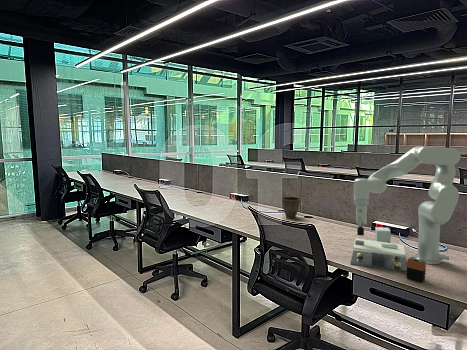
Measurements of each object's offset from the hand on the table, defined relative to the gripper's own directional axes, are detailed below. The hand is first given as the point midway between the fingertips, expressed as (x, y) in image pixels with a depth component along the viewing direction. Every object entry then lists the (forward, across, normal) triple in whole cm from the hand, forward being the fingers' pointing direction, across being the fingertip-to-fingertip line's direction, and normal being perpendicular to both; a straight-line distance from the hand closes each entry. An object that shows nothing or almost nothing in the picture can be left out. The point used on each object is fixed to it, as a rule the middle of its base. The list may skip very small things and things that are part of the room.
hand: (360, 234), depth 173 cm
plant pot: (+13, +76, +58) cm, 96 cm away
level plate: (+7, -1, -9) cm, 12 cm away
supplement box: (+14, +19, -11) cm, 26 cm away
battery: (+14, -18, -25) cm, 33 cm away
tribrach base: (+13, -1, -9) cm, 16 cm away
